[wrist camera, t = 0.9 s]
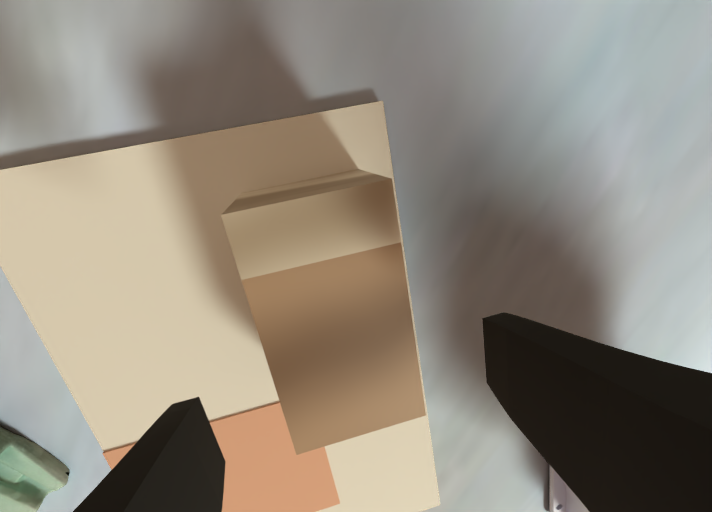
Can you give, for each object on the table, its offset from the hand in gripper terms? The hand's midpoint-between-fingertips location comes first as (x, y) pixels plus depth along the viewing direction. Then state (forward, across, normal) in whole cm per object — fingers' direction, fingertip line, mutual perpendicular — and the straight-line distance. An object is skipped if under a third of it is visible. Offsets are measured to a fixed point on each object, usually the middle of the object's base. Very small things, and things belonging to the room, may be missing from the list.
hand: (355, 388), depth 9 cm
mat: (+8, +4, +5) cm, 11 cm away
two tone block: (+8, 0, 0) cm, 8 cm away
